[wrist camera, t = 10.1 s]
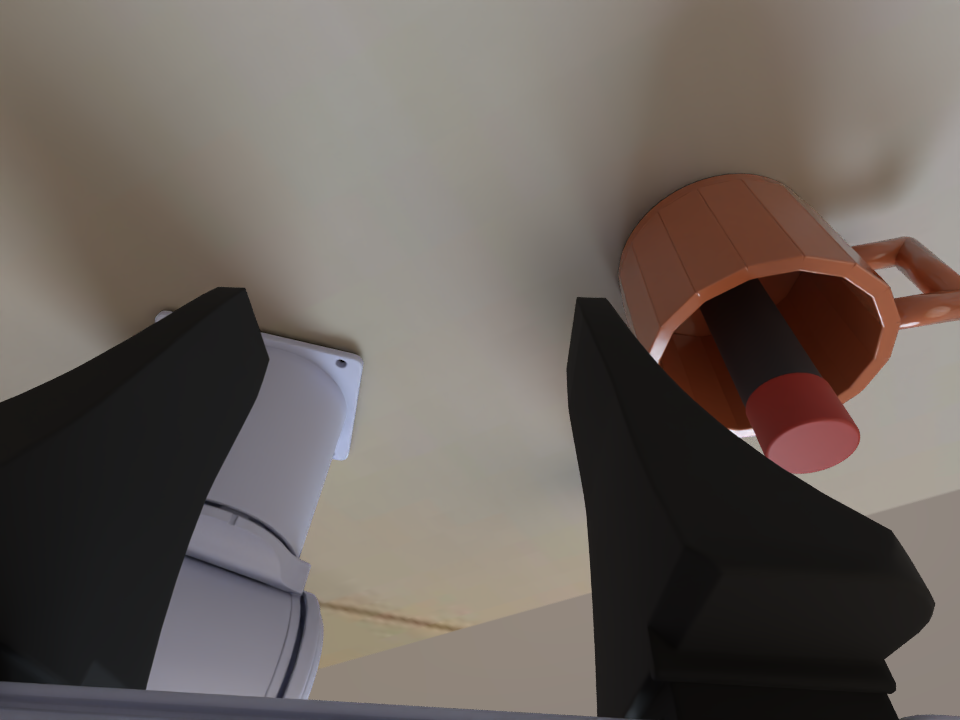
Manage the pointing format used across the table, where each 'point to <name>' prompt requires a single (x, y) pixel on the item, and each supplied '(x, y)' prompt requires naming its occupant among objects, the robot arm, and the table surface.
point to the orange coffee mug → (770, 286)
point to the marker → (779, 382)
